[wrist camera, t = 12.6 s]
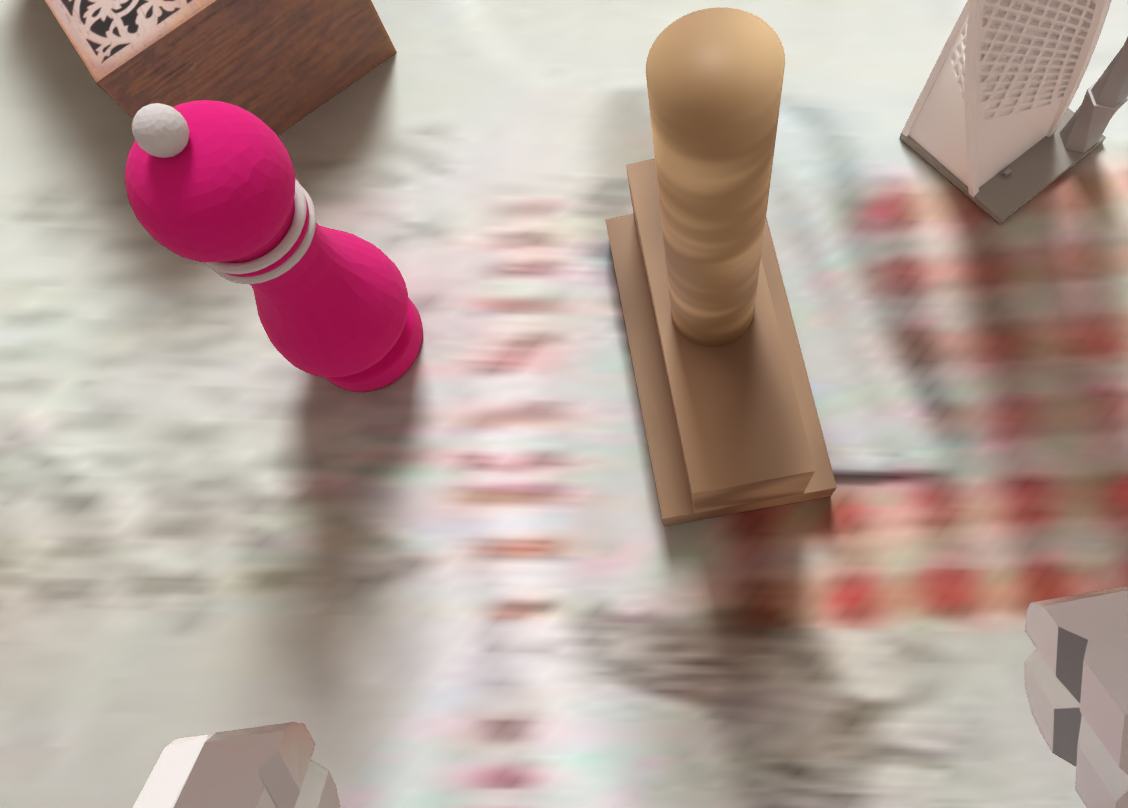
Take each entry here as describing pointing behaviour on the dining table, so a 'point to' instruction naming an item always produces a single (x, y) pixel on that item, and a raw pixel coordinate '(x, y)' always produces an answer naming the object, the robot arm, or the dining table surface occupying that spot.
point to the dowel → (714, 163)
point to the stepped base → (715, 384)
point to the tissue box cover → (226, 51)
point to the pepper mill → (270, 241)
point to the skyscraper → (1015, 99)
